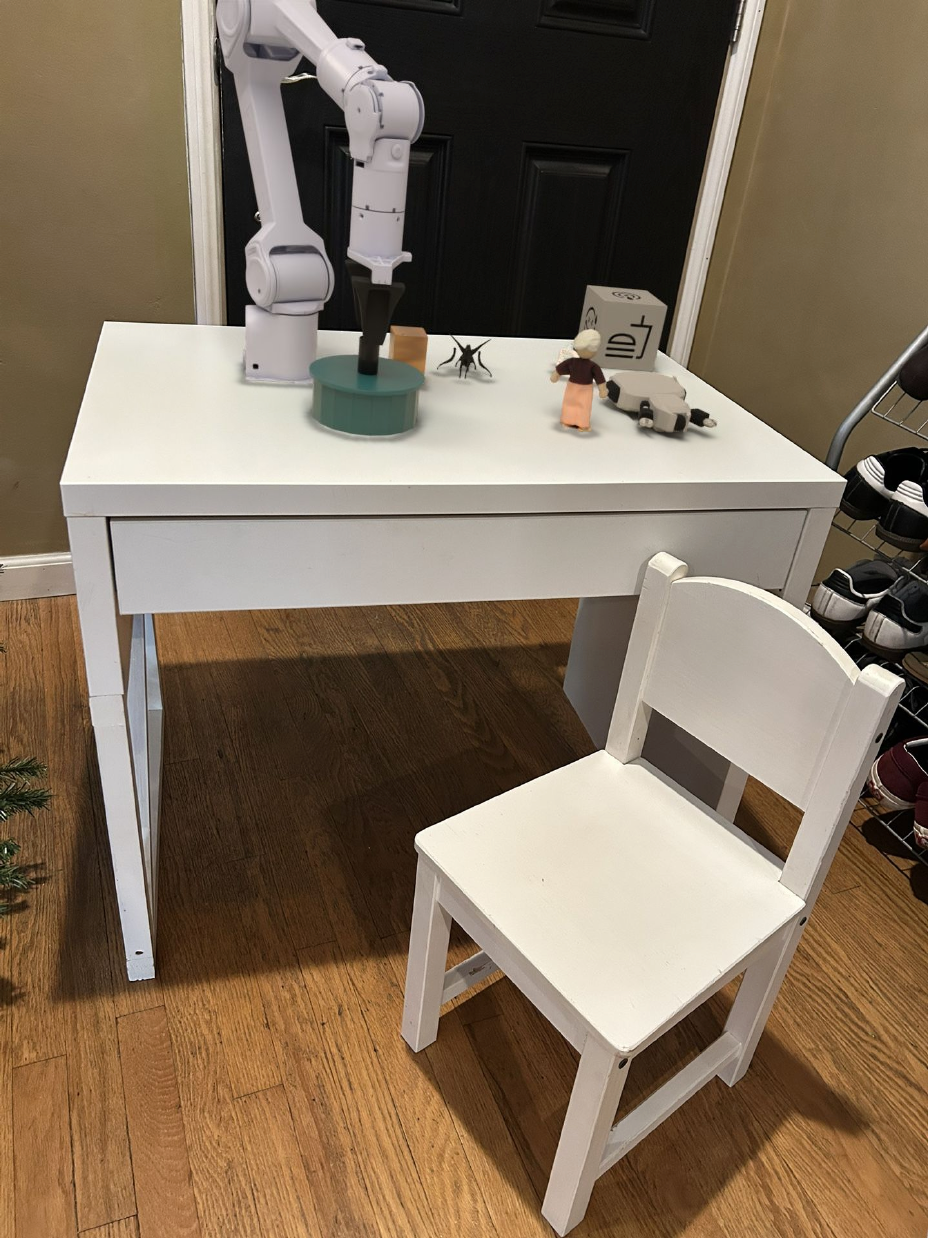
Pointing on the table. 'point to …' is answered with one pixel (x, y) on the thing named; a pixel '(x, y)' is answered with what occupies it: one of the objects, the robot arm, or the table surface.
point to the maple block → (408, 346)
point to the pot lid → (367, 373)
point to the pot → (364, 411)
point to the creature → (466, 357)
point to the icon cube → (624, 326)
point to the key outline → (569, 352)
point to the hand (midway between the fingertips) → (369, 334)
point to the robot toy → (655, 401)
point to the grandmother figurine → (581, 381)
